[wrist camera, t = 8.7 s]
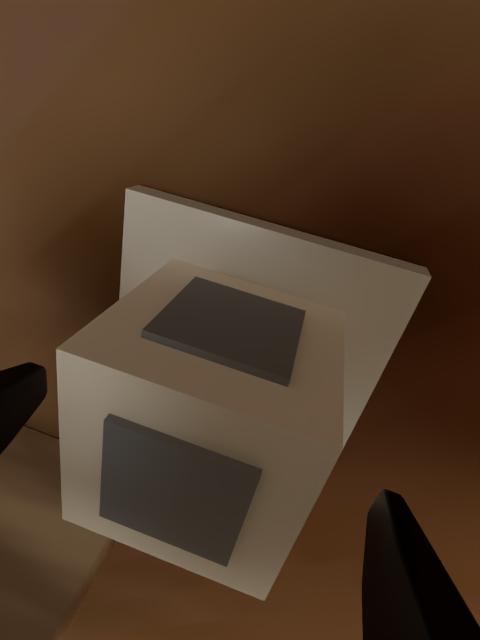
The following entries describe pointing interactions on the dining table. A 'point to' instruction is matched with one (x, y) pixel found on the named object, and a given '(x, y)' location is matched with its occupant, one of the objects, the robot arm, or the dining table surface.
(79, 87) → the dining table surface
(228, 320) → the cream grey-paneled cube
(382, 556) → the robot arm
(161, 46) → the dining table surface
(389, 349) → the cream square tile
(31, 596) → the oak screen
